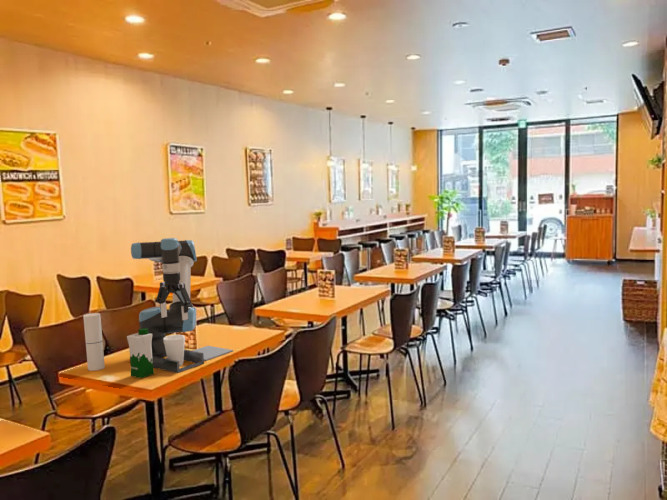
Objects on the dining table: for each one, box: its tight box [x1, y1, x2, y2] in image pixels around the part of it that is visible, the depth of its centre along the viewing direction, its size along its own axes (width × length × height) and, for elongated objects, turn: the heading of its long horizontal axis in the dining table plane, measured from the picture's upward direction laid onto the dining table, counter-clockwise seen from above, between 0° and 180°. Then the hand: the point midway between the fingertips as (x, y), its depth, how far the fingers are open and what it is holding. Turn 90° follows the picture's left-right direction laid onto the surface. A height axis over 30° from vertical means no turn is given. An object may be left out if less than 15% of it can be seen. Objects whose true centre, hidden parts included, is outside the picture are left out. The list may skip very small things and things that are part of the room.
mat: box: [192, 345, 234, 362], centre depth 280 cm, size 18×18×1 cm
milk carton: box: [126, 328, 155, 379], centre depth 249 cm, size 9×9×20 cm
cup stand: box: [152, 348, 205, 374], centre depth 262 cm, size 20×15×5 cm
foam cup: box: [163, 334, 186, 367], centre depth 262 cm, size 10×9×13 cm
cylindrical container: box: [82, 312, 106, 372], centre depth 261 cm, size 7×7×25 cm
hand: (174, 318), depth 261 cm, fingers open, 13 cm apart
